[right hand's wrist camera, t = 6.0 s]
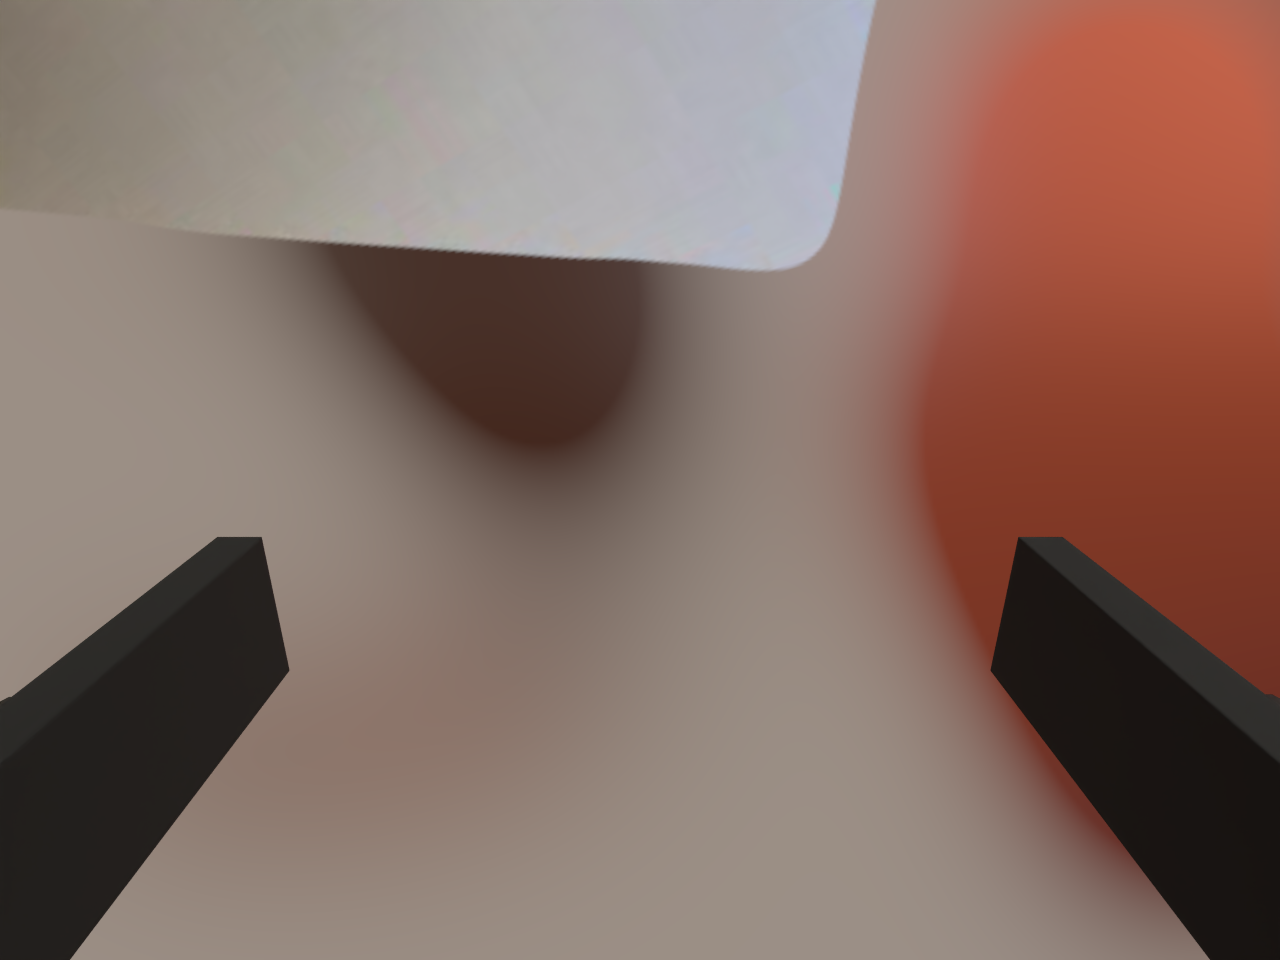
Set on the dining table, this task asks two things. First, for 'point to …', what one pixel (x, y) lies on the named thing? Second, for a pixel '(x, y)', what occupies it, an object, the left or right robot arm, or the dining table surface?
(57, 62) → the dining table surface
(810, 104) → the dining table surface
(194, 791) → the right robot arm
